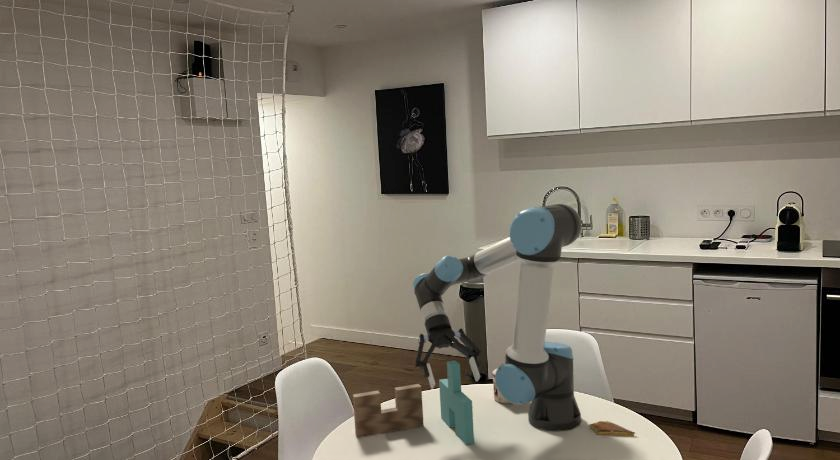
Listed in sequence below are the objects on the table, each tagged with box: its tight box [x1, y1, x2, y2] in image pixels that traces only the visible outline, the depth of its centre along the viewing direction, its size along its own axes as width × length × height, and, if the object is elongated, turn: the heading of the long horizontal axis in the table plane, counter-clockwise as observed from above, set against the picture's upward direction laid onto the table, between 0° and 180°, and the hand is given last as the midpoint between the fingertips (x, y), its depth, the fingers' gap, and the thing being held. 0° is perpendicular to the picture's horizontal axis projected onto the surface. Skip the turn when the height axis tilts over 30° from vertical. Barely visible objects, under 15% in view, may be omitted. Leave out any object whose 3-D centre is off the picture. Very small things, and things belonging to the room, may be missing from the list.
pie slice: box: [588, 420, 636, 437], centre depth 173 cm, size 11×8×2 cm
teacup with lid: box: [492, 362, 512, 404], centre depth 201 cm, size 12×9×12 cm
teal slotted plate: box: [438, 359, 475, 445], centre depth 180 cm, size 20×2×20 cm, turn 18°
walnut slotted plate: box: [352, 383, 424, 439], centre depth 183 cm, size 20×2×12 cm, turn 108°
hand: (455, 382), depth 178 cm, fingers open, 13 cm apart
